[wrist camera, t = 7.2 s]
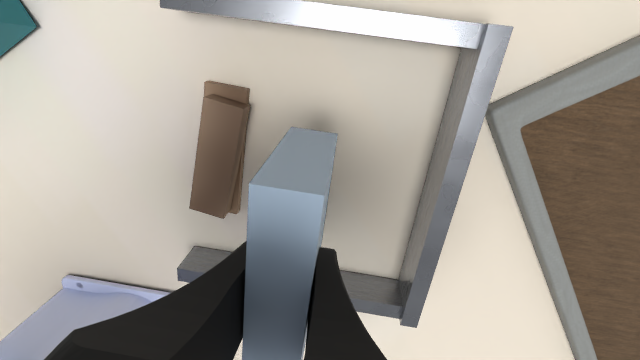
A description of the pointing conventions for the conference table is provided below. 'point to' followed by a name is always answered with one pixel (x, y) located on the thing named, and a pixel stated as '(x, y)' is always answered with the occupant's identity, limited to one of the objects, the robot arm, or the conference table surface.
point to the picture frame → (582, 193)
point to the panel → (285, 243)
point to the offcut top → (218, 154)
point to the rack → (450, 148)
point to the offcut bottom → (243, 96)
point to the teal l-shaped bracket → (13, 24)
